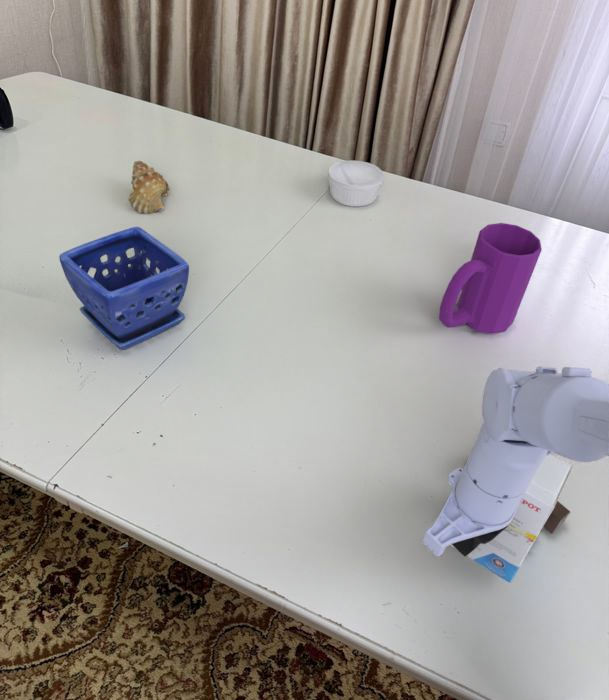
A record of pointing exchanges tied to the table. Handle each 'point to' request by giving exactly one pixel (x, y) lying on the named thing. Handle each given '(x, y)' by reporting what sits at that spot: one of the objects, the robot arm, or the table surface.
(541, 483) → the ink box
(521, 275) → the mug
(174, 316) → the flower pot
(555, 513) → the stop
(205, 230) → the table surface
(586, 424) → the robot arm
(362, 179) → the ramekin
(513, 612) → the table surface
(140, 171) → the seashell
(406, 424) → the table surface
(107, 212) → the table surface
